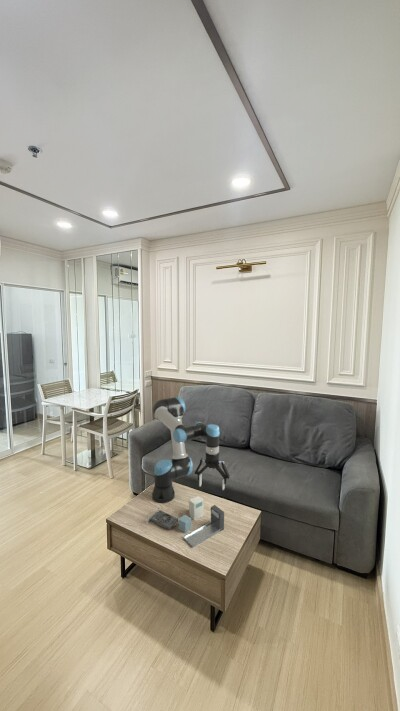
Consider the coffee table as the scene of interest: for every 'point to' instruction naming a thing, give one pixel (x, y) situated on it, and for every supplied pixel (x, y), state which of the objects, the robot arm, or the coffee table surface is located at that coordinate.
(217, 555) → the coffee table surface
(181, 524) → the block
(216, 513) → the rail
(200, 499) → the block
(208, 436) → the robot arm
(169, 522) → the graphics card
